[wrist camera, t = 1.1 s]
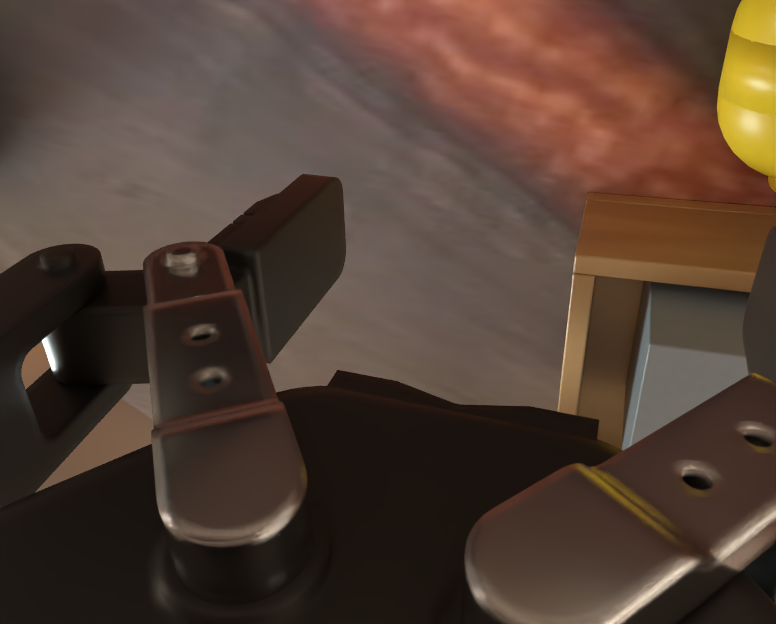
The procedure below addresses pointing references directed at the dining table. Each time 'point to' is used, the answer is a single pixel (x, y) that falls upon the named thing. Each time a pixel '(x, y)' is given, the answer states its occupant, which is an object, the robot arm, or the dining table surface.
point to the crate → (625, 282)
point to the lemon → (751, 87)
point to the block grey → (681, 353)
